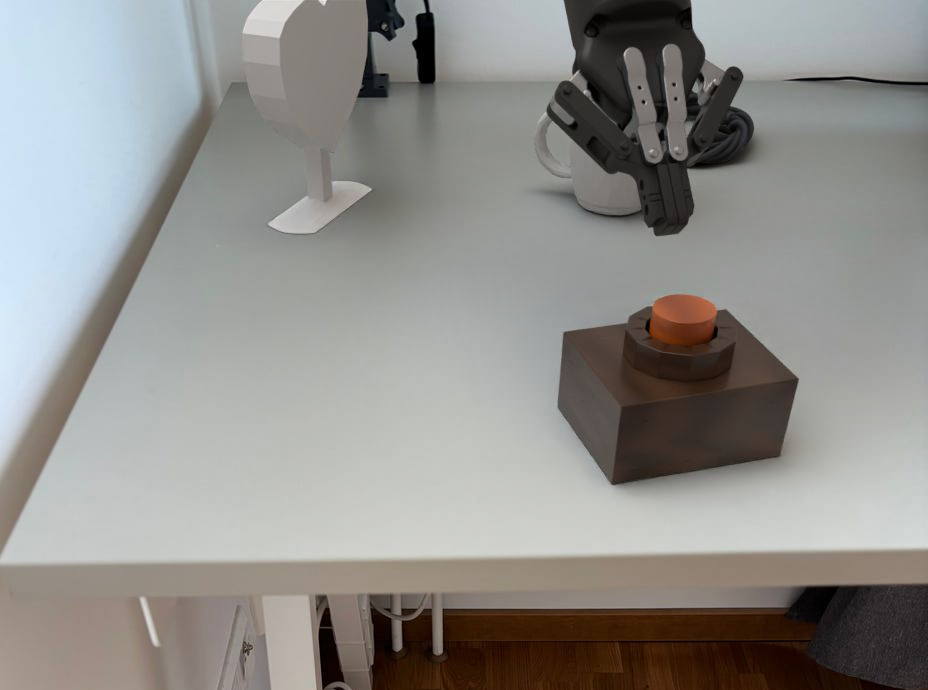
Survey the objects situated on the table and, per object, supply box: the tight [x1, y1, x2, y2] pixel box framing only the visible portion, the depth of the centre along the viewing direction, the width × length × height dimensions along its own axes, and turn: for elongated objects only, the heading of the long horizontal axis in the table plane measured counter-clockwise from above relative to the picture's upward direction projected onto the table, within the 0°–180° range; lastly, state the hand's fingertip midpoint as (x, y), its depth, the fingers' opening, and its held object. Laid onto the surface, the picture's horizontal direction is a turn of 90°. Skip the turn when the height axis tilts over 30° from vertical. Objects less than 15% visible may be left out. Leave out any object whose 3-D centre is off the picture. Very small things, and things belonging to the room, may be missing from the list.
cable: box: [686, 90, 755, 164], centre depth 115 cm, size 17×14×4 cm
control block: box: [557, 305, 800, 485], centre depth 71 cm, size 12×10×8 cm
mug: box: [533, 102, 642, 216], centre depth 101 cm, size 13×9×10 cm
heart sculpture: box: [241, 0, 373, 235], centre depth 97 cm, size 16×5×18 cm, turn 156°
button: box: [649, 293, 718, 346], centre depth 69 cm, size 4×4×2 cm
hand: (672, 229), depth 68 cm, fingers closed
